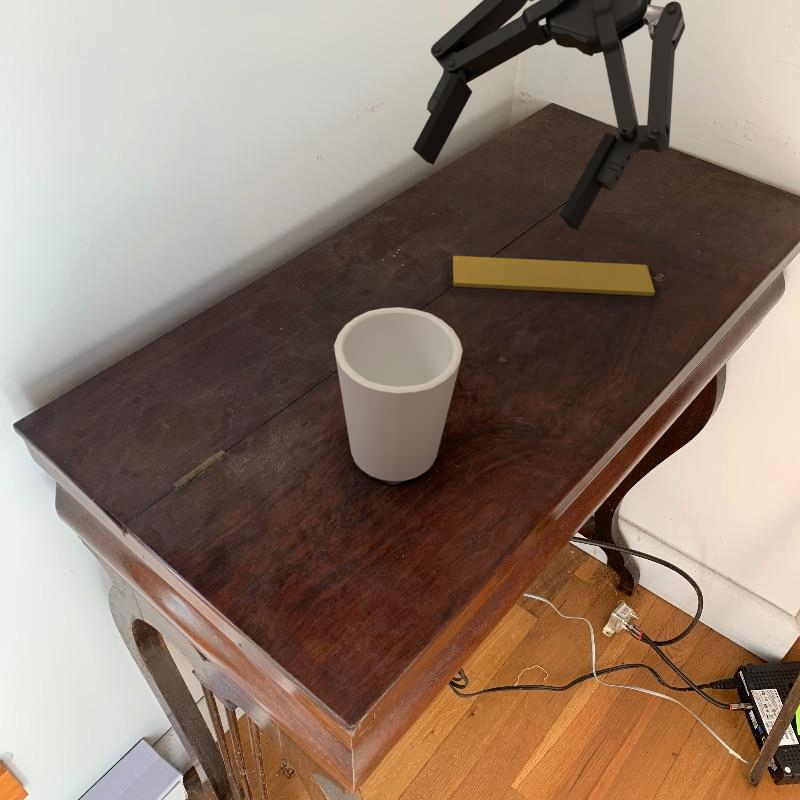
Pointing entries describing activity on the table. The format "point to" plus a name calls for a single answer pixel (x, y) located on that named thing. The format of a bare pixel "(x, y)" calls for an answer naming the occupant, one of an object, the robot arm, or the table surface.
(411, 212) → the table surface
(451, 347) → the cup
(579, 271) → the yellow plank
